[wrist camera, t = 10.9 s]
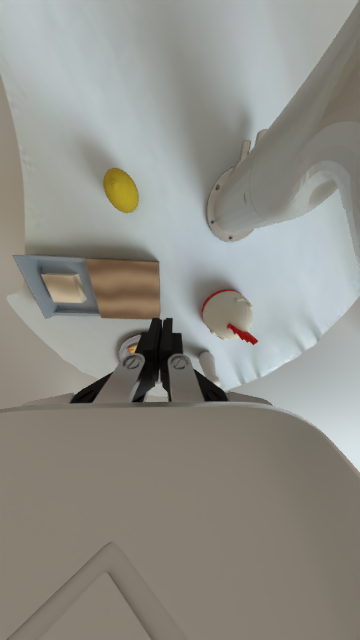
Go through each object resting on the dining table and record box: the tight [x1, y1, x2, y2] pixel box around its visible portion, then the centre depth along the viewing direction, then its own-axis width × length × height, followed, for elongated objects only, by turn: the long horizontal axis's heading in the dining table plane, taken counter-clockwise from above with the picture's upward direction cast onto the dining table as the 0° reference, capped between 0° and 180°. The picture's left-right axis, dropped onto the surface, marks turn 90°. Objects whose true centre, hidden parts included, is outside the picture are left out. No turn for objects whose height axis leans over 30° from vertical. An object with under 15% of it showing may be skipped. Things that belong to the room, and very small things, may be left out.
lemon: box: [104, 168, 139, 213], centre depth 24 cm, size 6×6×8 cm
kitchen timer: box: [202, 290, 258, 345], centre depth 34 cm, size 14×14×15 cm
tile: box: [41, 273, 87, 303], centre depth 33 cm, size 7×7×2 cm
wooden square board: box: [85, 258, 160, 319], centre depth 34 cm, size 15×16×4 cm
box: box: [13, 255, 101, 318], centre depth 33 cm, size 15×14×5 cm
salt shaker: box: [199, 351, 221, 387], centre depth 44 cm, size 6×6×13 cm
